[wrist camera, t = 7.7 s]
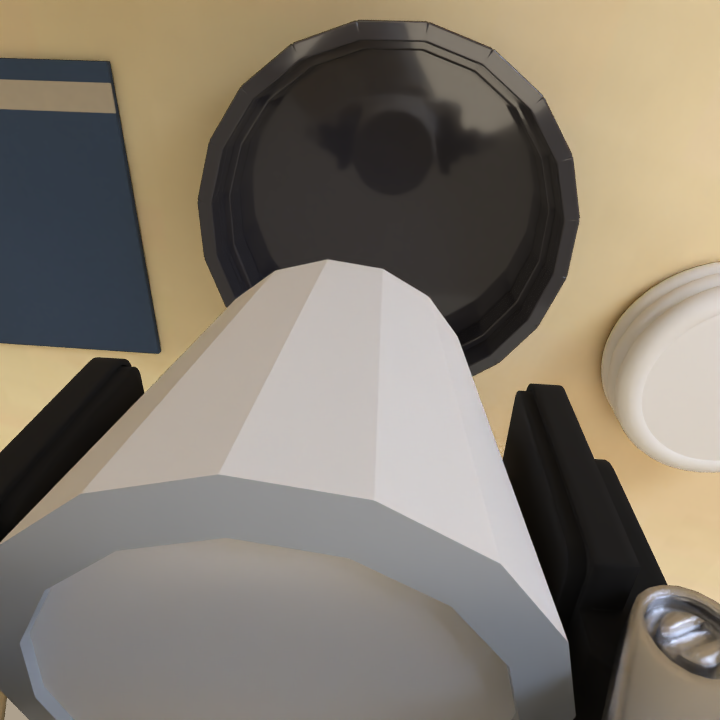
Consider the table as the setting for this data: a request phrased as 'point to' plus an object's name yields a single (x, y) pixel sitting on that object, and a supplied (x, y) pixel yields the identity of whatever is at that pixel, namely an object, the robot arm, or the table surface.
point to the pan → (397, 177)
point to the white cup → (290, 533)
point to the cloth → (68, 213)
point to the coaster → (670, 370)
